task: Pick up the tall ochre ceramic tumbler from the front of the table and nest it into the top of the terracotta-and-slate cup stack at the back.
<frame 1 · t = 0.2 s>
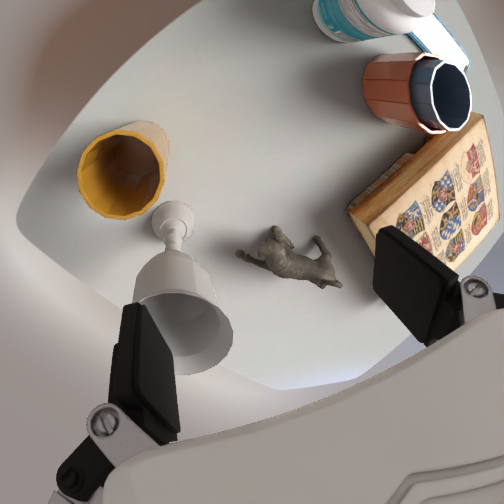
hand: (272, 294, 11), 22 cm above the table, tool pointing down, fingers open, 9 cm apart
ochre cup: (141, 149, 27), on the table
smartphone: (435, 42, 27), on the table
pill bottle: (337, 17, 24), on the table
dog figurine: (282, 244, 37), on the table
chalice: (173, 221, 32), on the table
book: (424, 213, 41), on the table
cup stack: (391, 89, 29), on the table
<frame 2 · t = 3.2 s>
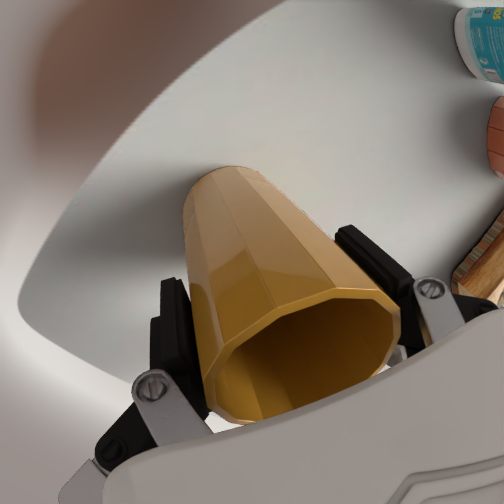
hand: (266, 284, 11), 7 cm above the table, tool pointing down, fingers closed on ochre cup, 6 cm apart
ochre cup: (232, 214, 18), on the table, touching gripper
pill bottle: (471, 43, 14), on the table
book: (501, 264, 31), on the table
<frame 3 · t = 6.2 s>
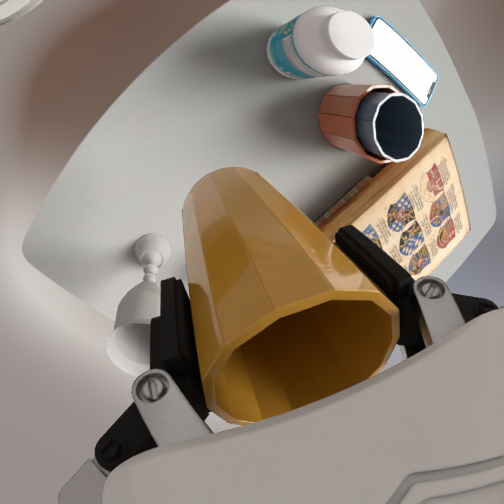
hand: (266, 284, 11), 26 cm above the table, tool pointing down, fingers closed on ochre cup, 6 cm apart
ochre cup: (231, 214, 18), point 18 cm above the table, touching gripper
smartphone: (399, 62, 31), on the table
pill bottle: (292, 52, 29), on the table
chalice: (152, 250, 37), on the table
book: (389, 229, 46), on the table
cup stack: (349, 117, 34), on the table
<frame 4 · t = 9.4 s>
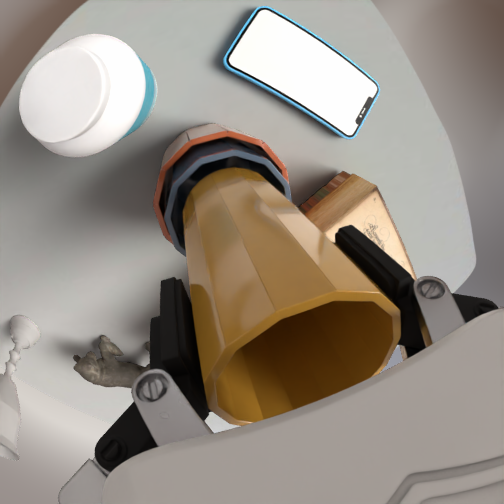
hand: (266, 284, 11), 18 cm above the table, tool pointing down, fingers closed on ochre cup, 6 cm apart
ochre cup: (232, 215, 18), point 10 cm above the table, touching gripper
smartphone: (305, 72, 23), on the table
pill bottle: (117, 97, 20), on the table
dog figurine: (117, 348, 34), on the table
chalice: (25, 328, 29), on the table
book: (301, 307, 38), on the table
cup stack: (210, 173, 26), on the table
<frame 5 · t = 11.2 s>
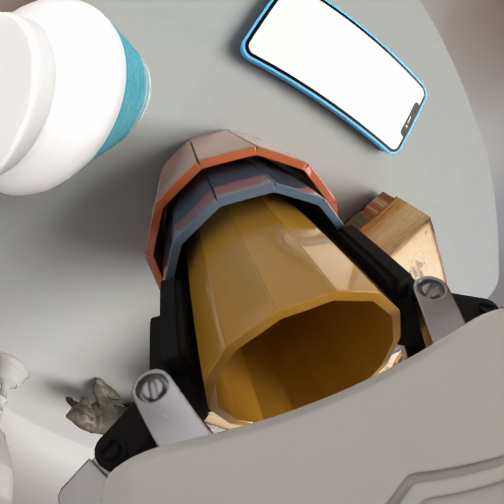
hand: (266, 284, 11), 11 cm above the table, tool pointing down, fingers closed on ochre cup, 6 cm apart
ochre cup: (232, 215, 18), point 3 cm above the table, touching gripper
smartphone: (343, 68, 18), on the table
pill bottle: (98, 95, 15), on the table
dog figurine: (114, 390, 28), on the table
chalice: (11, 366, 23), on the table
book: (322, 343, 32), on the table
cup stack: (222, 196, 20), on the table
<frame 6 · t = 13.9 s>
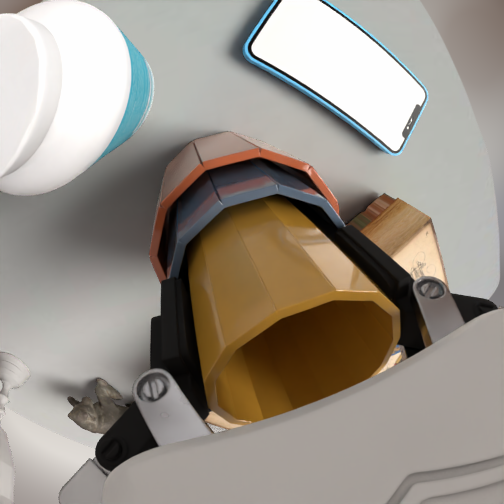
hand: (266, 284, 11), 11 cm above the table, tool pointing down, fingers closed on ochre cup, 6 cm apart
ochre cup: (232, 215, 18), point 3 cm above the table, touching gripper
smartphone: (345, 70, 18), on the table
pill bottle: (101, 96, 15), on the table
dog figurine: (116, 390, 28), on the table
chalice: (13, 365, 23), on the table
book: (324, 344, 32), on the table
cup stack: (225, 198, 21), on the table
when the fingers open (11 cm above the table, at t = 15.9 s): ochre cup drops 3 cm, resting on cup stack.
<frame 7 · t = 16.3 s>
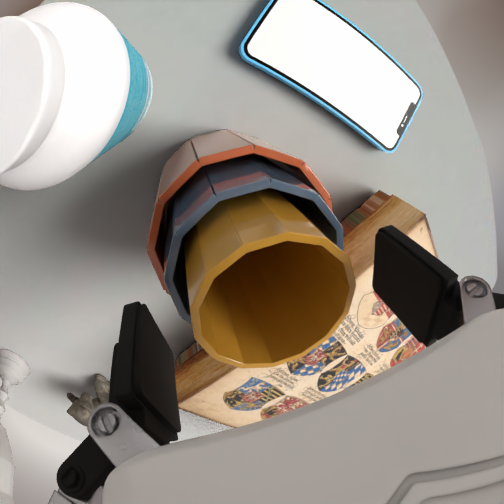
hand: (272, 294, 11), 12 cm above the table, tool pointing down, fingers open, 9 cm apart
ochre cup: (223, 199, 20), point 1 cm above the table, touching cup stack
smartphone: (340, 69, 18), on the table
pill bottle: (101, 96, 15), on the table
dog figurine: (115, 386, 28), on the table
chalice: (13, 362, 23), on the table
book: (321, 340, 32), on the table
cup stack: (222, 194, 21), on the table
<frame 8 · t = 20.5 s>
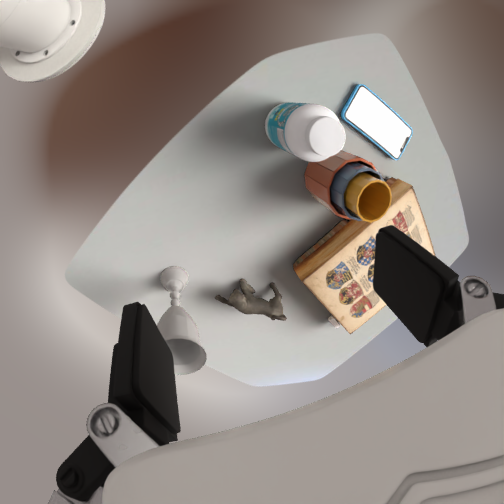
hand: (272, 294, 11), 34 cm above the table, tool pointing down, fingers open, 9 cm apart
ochre cup: (332, 177, 46), point 1 cm above the table, touching cup stack
smartphone: (377, 122, 44), on the table
pill bottle: (286, 125, 41), on the table
dog figurine: (248, 289, 54), on the table
chalice: (174, 278, 49), on the table
book: (363, 259, 58), on the table
cup stack: (329, 175, 47), on the table
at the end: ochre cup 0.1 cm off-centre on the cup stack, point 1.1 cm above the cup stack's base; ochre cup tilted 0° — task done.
